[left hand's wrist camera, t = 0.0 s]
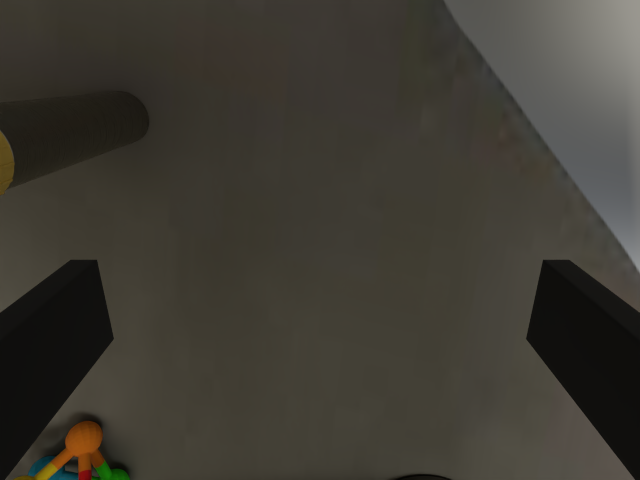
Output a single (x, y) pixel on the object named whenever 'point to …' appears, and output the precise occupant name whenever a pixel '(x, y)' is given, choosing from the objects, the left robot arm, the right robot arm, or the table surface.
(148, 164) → the table surface
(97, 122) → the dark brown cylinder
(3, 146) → the lid
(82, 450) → the molecular model
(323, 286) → the table surface
